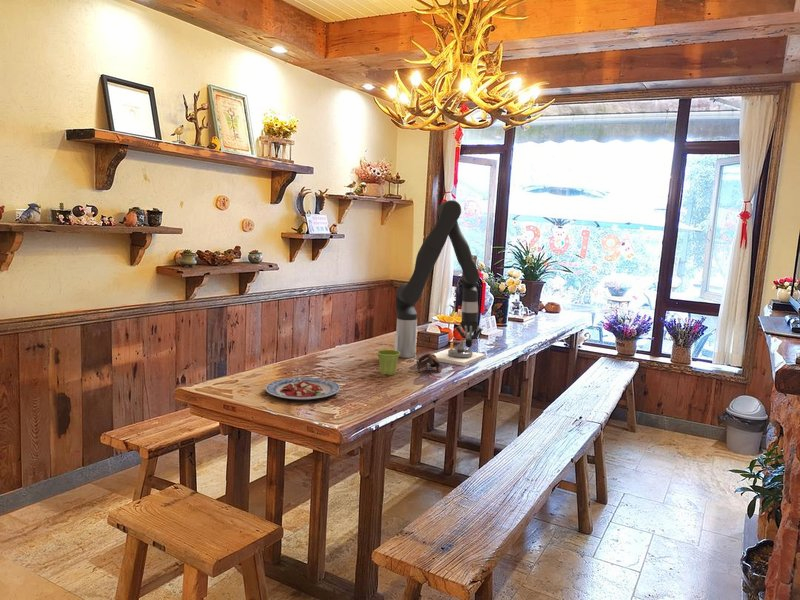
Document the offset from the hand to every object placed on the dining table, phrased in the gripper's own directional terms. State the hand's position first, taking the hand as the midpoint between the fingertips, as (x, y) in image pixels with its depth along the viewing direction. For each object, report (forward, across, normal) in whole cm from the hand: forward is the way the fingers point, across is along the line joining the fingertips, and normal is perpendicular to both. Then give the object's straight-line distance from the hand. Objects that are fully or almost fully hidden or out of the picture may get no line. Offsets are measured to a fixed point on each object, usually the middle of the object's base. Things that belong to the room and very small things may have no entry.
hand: (468, 347), depth 275 cm
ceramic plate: (+2, +37, +90) cm, 97 cm away
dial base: (+3, +3, +10) cm, 11 cm away
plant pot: (+3, +21, +50) cm, 54 cm away
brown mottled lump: (+3, +7, +38) cm, 38 cm away
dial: (+2, +2, +7) cm, 7 cm away
